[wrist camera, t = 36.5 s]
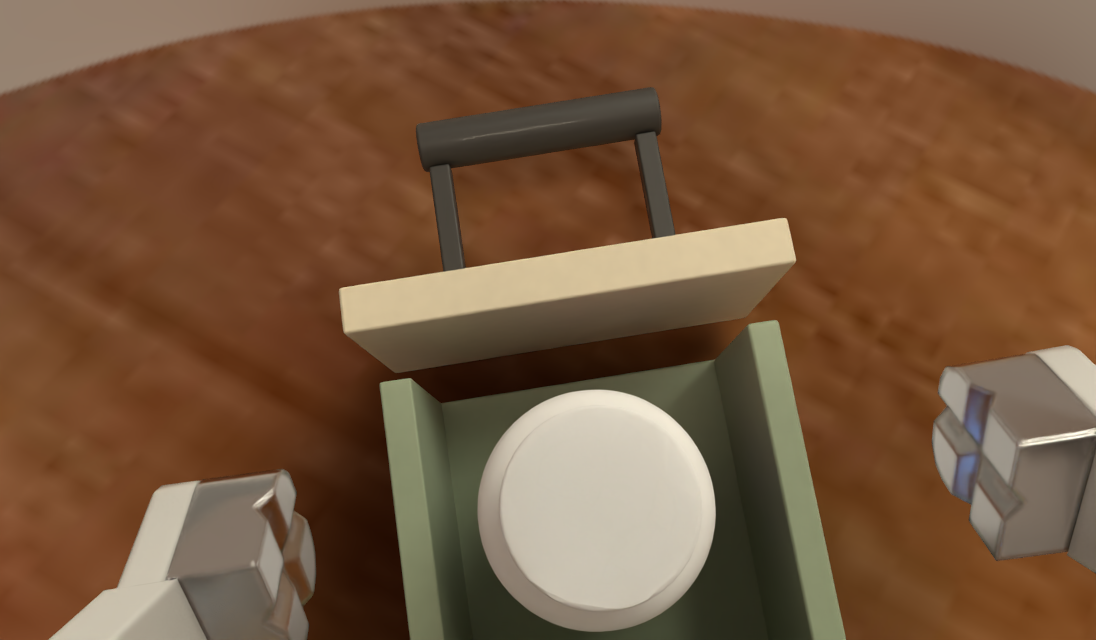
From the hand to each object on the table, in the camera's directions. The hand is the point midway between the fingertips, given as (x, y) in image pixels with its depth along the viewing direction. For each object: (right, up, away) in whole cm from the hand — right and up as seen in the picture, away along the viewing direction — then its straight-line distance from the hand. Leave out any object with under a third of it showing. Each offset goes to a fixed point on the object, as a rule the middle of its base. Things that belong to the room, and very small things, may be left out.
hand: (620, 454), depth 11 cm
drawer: (0, -3, +17) cm, 17 cm away
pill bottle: (0, -4, +16) cm, 17 cm away
